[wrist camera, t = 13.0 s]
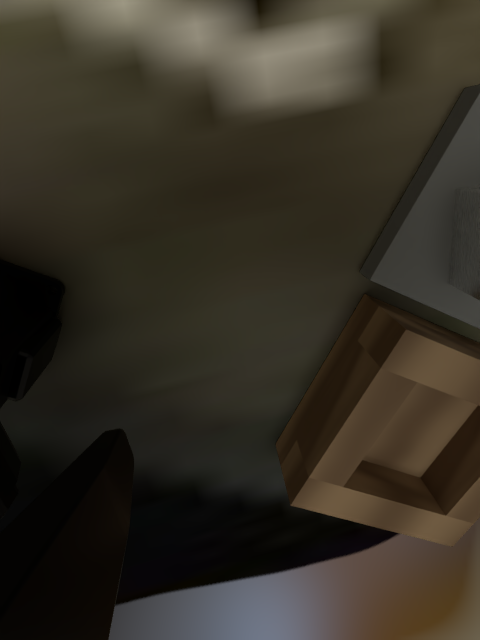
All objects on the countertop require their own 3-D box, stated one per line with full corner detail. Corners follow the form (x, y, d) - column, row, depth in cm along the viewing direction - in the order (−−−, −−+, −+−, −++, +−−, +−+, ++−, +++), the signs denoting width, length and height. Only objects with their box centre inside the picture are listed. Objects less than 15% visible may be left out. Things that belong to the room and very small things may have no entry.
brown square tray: (275, 444, 26) (290, 505, 22) (364, 293, 22) (406, 329, 18) (413, 485, 29) (452, 547, 24) (514, 358, 25) (584, 403, 20)
